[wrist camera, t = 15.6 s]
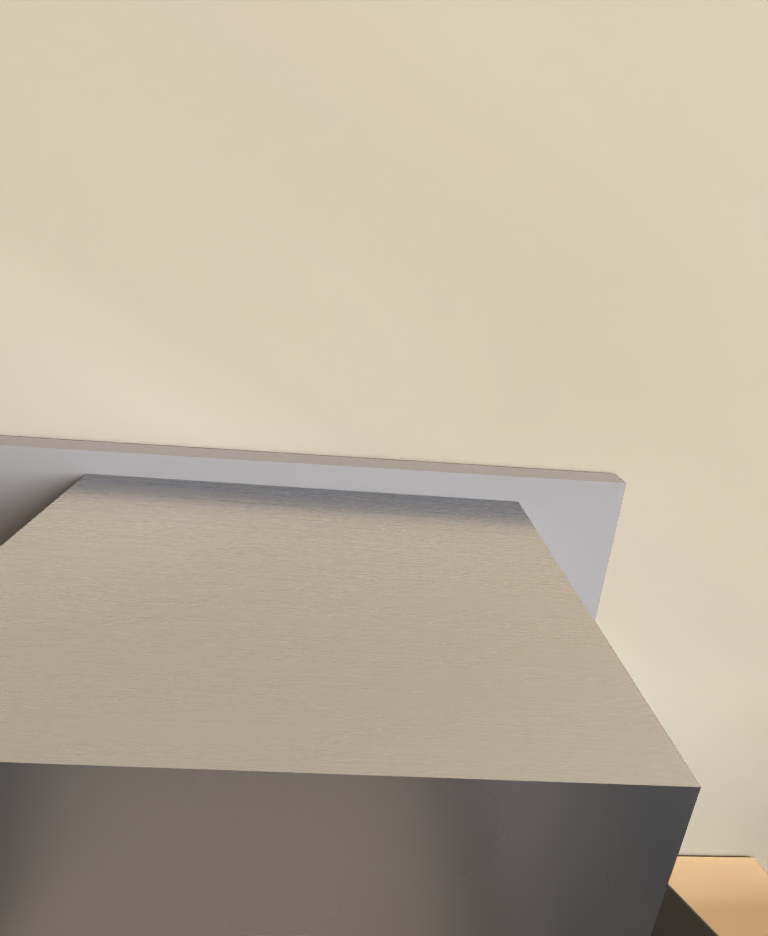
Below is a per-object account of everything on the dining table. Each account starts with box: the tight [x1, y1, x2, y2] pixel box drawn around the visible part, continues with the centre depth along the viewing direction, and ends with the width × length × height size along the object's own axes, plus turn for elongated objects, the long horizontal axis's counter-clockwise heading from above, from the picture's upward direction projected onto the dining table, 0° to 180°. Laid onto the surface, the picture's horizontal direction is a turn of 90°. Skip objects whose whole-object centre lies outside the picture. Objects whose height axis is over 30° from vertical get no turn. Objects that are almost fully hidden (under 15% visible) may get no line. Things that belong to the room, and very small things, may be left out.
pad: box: [0, 436, 626, 621], centre depth 10 cm, size 8×9×1 cm
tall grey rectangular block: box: [0, 474, 701, 936], centre depth 7 cm, size 6×7×5 cm
